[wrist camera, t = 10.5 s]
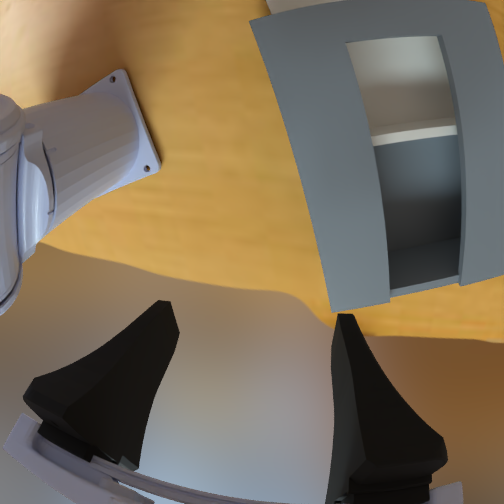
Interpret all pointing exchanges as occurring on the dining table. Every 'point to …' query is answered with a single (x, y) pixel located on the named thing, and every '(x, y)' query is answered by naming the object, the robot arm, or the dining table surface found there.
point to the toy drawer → (397, 84)
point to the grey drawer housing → (392, 149)
